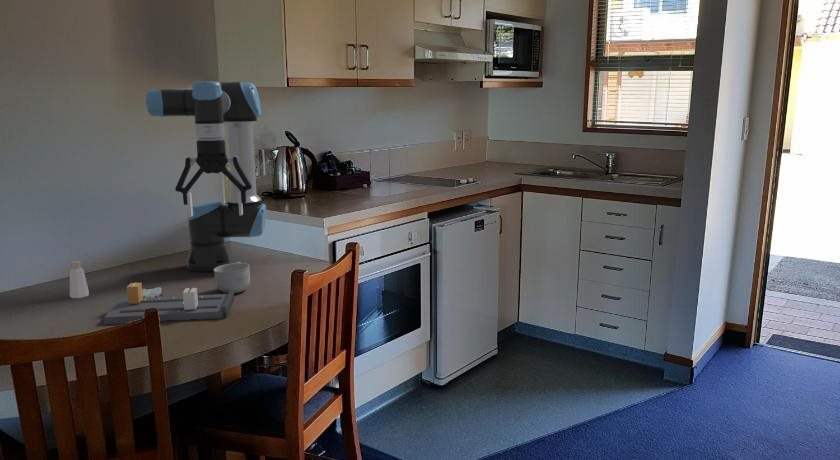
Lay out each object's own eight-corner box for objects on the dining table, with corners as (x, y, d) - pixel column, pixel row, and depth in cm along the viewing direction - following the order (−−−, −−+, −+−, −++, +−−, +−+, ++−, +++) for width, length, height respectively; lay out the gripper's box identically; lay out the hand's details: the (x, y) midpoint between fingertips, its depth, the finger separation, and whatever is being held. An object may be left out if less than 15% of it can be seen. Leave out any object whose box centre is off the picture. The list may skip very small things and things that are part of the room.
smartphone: (135, 305, 189) (137, 289, 203) (136, 308, 189) (137, 292, 203) (162, 301, 192) (162, 286, 205) (163, 305, 192) (163, 289, 206)
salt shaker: (65, 297, 197) (61, 262, 195) (80, 292, 202) (76, 258, 200) (78, 299, 196) (74, 264, 193) (93, 294, 200) (89, 260, 198)
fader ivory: (187, 305, 182) (185, 288, 181) (198, 304, 183) (196, 287, 182) (184, 309, 178) (182, 292, 177) (195, 309, 179) (194, 291, 178)
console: (122, 305, 190) (121, 295, 189) (234, 299, 194) (233, 289, 193) (104, 324, 174) (103, 313, 173) (226, 317, 179) (225, 306, 178)
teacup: (241, 297, 197) (239, 272, 195) (208, 295, 199) (206, 270, 197) (261, 284, 210) (259, 260, 209) (230, 282, 212) (228, 258, 211)
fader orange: (132, 299, 188) (130, 282, 187) (143, 299, 188) (141, 282, 187) (128, 303, 184) (126, 286, 183) (139, 303, 184) (137, 286, 183)
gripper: (159, 141, 170) (166, 219, 175) (256, 139, 174) (260, 216, 179) (165, 139, 178) (172, 214, 182) (258, 137, 181) (262, 211, 186)
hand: (216, 215), depth 180 cm, fingers open, 13 cm apart
